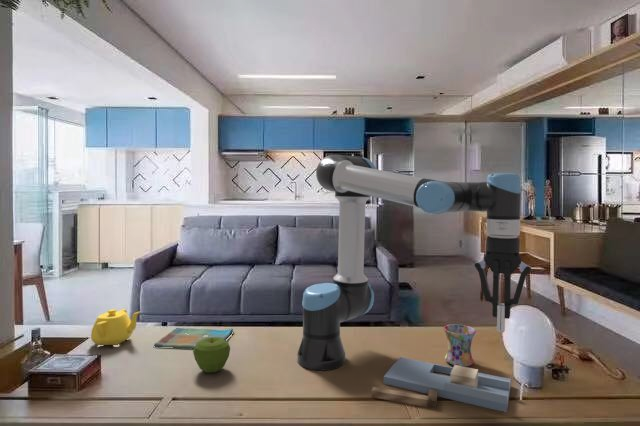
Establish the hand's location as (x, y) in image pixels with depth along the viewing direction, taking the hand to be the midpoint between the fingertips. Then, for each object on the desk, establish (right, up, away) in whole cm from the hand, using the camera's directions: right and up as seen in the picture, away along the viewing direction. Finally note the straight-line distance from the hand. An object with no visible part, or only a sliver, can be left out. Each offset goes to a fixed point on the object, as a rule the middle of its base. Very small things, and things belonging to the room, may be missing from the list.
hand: (500, 330), depth 101 cm
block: (-7, -16, +5) cm, 18 cm away
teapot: (-116, -17, +42) cm, 125 cm away
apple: (-77, -18, +19) cm, 81 cm away
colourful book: (-90, -17, +44) cm, 101 cm away
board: (-10, -18, +10) cm, 23 cm away
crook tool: (-23, -19, +4) cm, 30 cm away
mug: (-2, -17, +26) cm, 31 cm away
